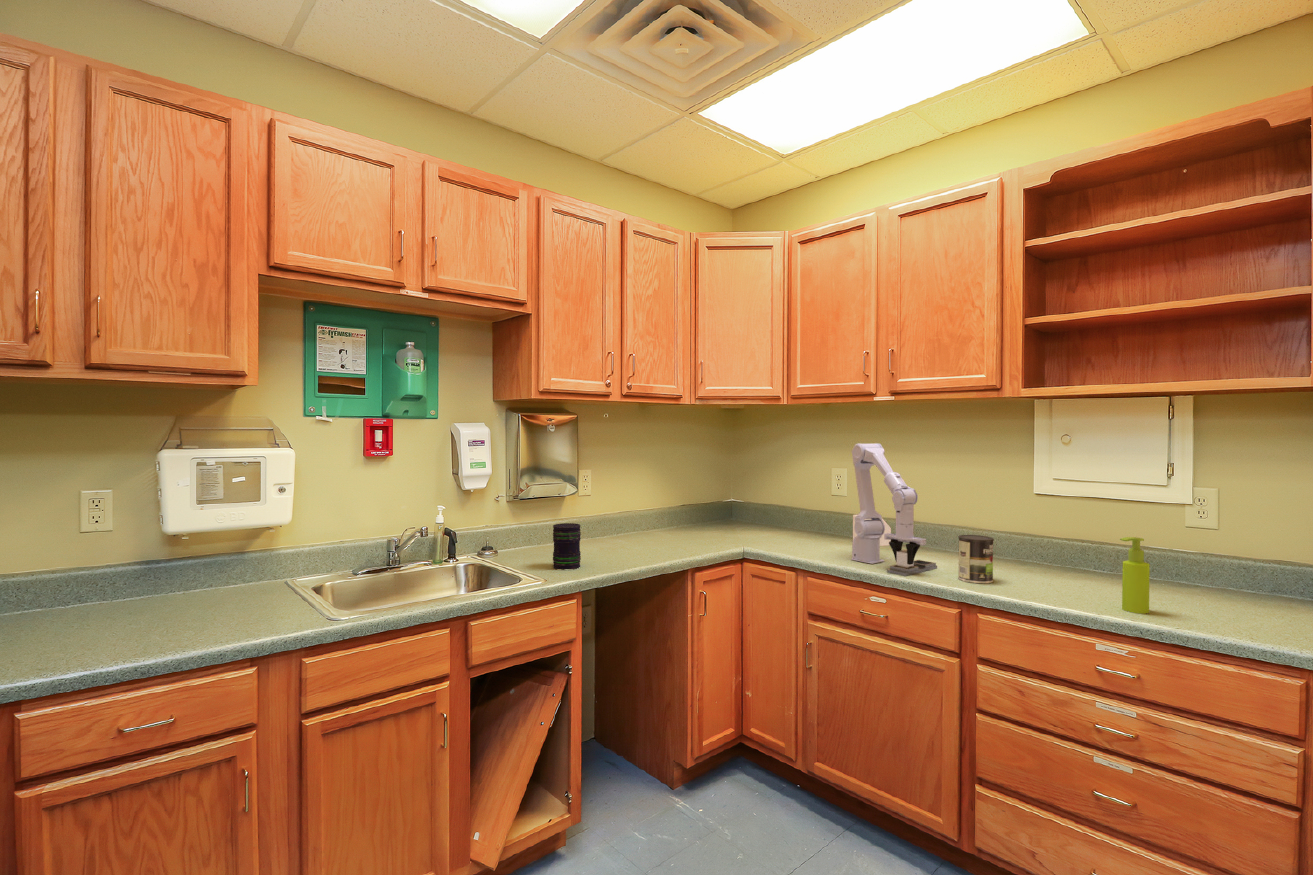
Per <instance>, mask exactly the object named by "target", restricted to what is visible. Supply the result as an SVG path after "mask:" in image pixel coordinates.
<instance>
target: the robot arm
mask: <svg viewBox="0 0 1313 875" xmlns="http://www.w3.org/2000/svg"><path fill="white" fill-rule="evenodd" d="M851 455H852V456H851V457H852V463H853V464H852V465H853V466H854V473H855V474H854V475H855V481H856V488H857V495H858V496H857V498H858V504H859V511H860V512H859V513H858V514H856V515H857V516H856V517H855V526H854V529H855V532H856V534H857V535H858V536H856V537H855V538H854V539H853V538H852V546H851V548H852V551H851V556H852V557H851V558H850V560H851V561H855V562H862V563H866V564H871V565H872V564H873V565H874V564H877V563H883V562H885V559H882V558H880V555H881V551H880V549H881V546H880V538H881V536H882V535H883V534H884V531H885V525H884V523H883V521H882V519H883V517H882V515H881V514H880V512H877V511H876V505H875V498H874V490H873V484H872V477H871V468H872V467H873V466H876V469H878V470H879V471H880V474H882V475H883V478H884V479H883V482H884V484H885V485H886V487H887V488H888V490H889V491H890V493H891V495H892V496H891V500H892V503H893V509H894V511H895V533H891V534H889V533H886V534H884V539H886V540H887V539H889V540H891V542H889V545H888V546H890V548H891V550H892V553H893V557H894V559H895V563H897V551H900V550H903V544H904V543H905V548H906V550H907V554H908V564H909V565H910V564H913V561H915V557H916V555H917V552H918V551H919V549H920V547H921V546H925V545H927V542H926V541H927V539H926V538H921V537H917V536H914V529H915V528H914V527H915V526H914V525H915V524H914V522H915V520H914V509H915V508H914V507H915V505H916V504H917V503H918V501H919V500H918V493H917V492H916V489H915V488H912V487H910V486H908V485H907V484H906V482H905V480H904V479H903V478H902V476H901V473H899V472H896V471H894V470H893V468H892V467H891V465H890V464H889V462H888V460H887V458H886V456H885V449H884V447H883V445H882V444H881V443H878V442H875V443H860V442H858V443H856V444H854V446H853V447H852V450H851ZM865 519H872V520H865Z"/></svg>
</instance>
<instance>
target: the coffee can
mask: <svg viewBox="0 0 1313 875" xmlns="http://www.w3.org/2000/svg"><path fill="white" fill-rule="evenodd" d="M994 541H995V540H994V537H991V536H987V535H978V534H961V535H958V580H960V581H963V582H966V583H971V584H980V585H981V584H986V585H987V584H992V583H993V582H994Z"/></svg>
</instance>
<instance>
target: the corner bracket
mask: <svg viewBox="0 0 1313 875" xmlns="http://www.w3.org/2000/svg"><path fill="white" fill-rule="evenodd" d="M857 515H858V514H853V515H852V540H853V539H854V538H855V537H856V536H858V535H857V534H856V532H855V529H854V526H855V517H856V516H857ZM865 520H872V519H865ZM882 521H883V523H884V525H885V531H884V534H886V533H889V534H892V528H891V527H890V525H889V524H888V523H887V522H886V521H885V519H884V518H882ZM884 534H883V535H882V536H881V538H880V547H881V546H883V547H884V546H886V547H887V546H890V545H889V542H891V540H889V539H887V540H886V539H884Z"/></svg>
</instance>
